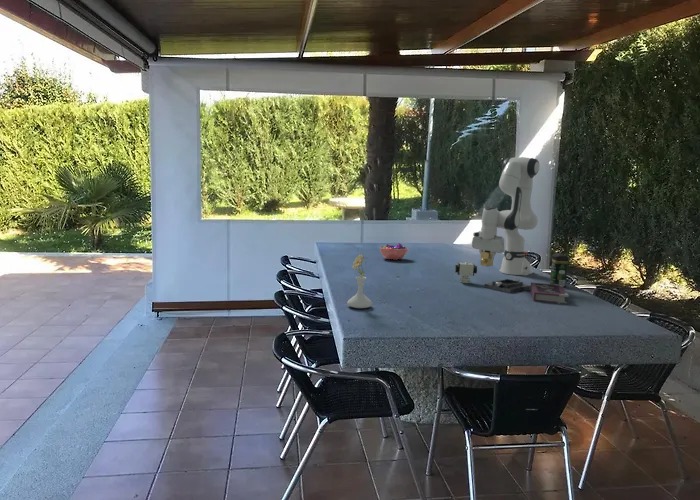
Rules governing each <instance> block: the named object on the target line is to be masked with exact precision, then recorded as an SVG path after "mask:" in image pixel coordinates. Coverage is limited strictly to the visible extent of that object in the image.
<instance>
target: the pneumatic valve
mask: <svg viewBox="0 0 700 500" xmlns="http://www.w3.org/2000/svg"><path fill="white" fill-rule="evenodd" d="M477 272H478V265H476V264H475V263H473V262H472V263H471V262H468V261H465V262H457V264H455V265H454V273H456V274H457V275H458V276H461V277H460V278H459V279H460V280H459V281H460V283H462V284H469V283H470V282H471V278H470V277H469V276H471V277H472V276H473V277H474V276H475V274H477Z"/></svg>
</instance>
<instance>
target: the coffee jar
mask: <svg viewBox="0 0 700 500" xmlns="http://www.w3.org/2000/svg"><path fill="white" fill-rule="evenodd" d="M568 264H569V256H567V255H566V254H563V253H562V252H560V253H559V252H555V253H553V254H552V257H551V269H550V270H551V271H550V276H549V278H550V279H549V284H557V285H563V288H565V287H566V286H567V274H568Z"/></svg>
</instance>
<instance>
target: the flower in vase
mask: <svg viewBox="0 0 700 500" xmlns="http://www.w3.org/2000/svg"><path fill="white" fill-rule="evenodd" d="M364 259H365V258H364V253H362V254H361V253H360V254H359V255H357V256H356V257H355V259H354V261H353V262H352V269H353V270H357V273H358V274H360V276H355V279H356V282H357V291H356V294H355V295H353V296H352V297H351V298H349V299H348V301H347V302H346V304H347V306H349V307H351V308H354V309H367V308H370V307H372V305H373V302H372V301H371V299H370V298H369V297H368V296H366V295H365V294H364V290H363V289H364V283H365V280H366V279H367V276H365V275H364V274H365V271H364V268H363V266H362V264H363V262H364ZM360 267H361V269H362V270H361V269H360Z"/></svg>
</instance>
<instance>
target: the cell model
mask: <svg viewBox="0 0 700 500" xmlns="http://www.w3.org/2000/svg"><path fill="white" fill-rule="evenodd" d="M409 250H410V249H409V247H406V246H403V244H402V243H400V242H398V243H397V245H390V244H386V245H382V246H379V251H380V253H381V255H382V256H383V258H385V259H387V260H390V259H391V260H392V259H393V261H397V260H398V259H399V260H402V259H403V258H404V257H405V256H406V254H407V253H408V251H409Z"/></svg>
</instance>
